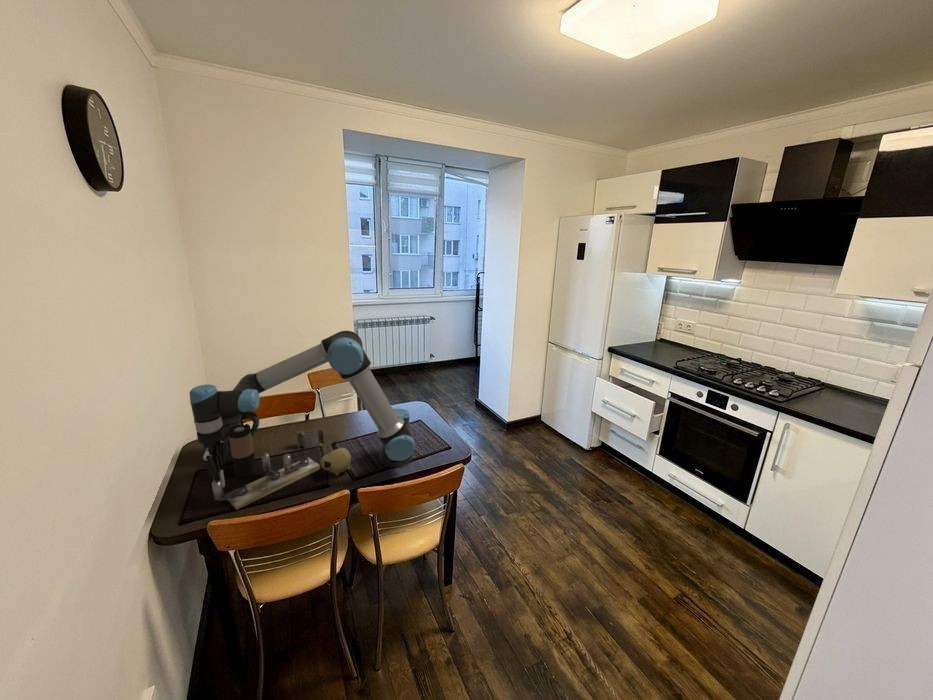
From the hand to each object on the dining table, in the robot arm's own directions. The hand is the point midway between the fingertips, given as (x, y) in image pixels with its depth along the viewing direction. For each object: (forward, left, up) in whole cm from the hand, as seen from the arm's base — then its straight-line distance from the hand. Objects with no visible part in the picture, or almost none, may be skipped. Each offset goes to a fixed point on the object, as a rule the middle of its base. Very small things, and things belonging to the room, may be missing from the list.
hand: (220, 486), depth 131 cm
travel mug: (+11, -12, -6) cm, 18 cm away
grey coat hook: (-5, -26, -3) cm, 26 cm away
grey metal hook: (-2, -17, -3) cm, 17 cm away
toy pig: (-17, -36, -6) cm, 41 cm away
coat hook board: (-5, -17, -6) cm, 19 cm away
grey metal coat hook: (-4, -2, -3) cm, 6 cm away
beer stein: (+26, -14, -6) cm, 31 cm away
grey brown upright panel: (+10, -40, -6) cm, 42 cm away
